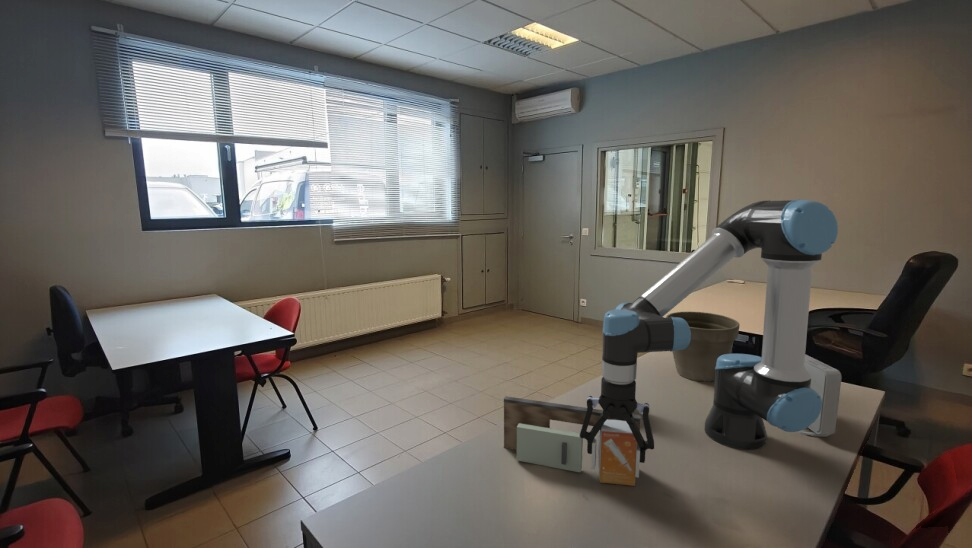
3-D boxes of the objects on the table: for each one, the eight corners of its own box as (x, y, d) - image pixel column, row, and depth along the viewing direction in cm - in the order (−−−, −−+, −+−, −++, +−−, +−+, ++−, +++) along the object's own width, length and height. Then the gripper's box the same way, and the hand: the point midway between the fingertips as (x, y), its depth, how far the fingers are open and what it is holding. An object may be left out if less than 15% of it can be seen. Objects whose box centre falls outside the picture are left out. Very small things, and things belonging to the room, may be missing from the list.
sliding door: (581, 467, 109) (582, 433, 108) (580, 475, 106) (581, 440, 105) (518, 456, 114) (518, 423, 113) (515, 462, 112) (515, 429, 110)
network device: (757, 401, 146) (762, 342, 143) (784, 401, 146) (790, 342, 143) (811, 442, 121) (818, 372, 118) (844, 442, 121) (852, 372, 117)
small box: (599, 483, 104) (600, 430, 102) (597, 468, 110) (598, 418, 108) (635, 486, 102) (637, 433, 100) (631, 471, 108) (633, 420, 107)
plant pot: (731, 393, 152) (736, 332, 149) (656, 378, 166) (659, 322, 162) (737, 370, 173) (742, 316, 170) (670, 359, 186) (673, 308, 183)
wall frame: (638, 468, 110) (640, 415, 108) (637, 472, 108) (640, 418, 106) (505, 444, 121) (505, 396, 119) (503, 447, 119) (503, 399, 117)
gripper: (669, 378, 101) (664, 469, 104) (572, 367, 108) (570, 453, 112) (671, 390, 94) (665, 488, 97) (567, 378, 101) (565, 470, 105)
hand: (615, 469), depth 105 cm, fingers open, 9 cm apart
